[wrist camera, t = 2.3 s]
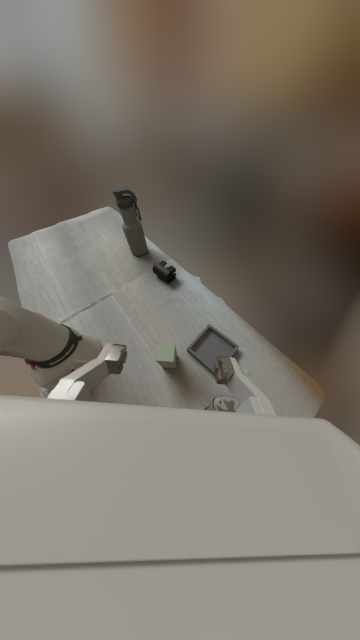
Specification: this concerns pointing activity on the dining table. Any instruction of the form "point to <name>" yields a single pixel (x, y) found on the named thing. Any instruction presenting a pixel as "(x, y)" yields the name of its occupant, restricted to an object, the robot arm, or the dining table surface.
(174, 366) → the sage block
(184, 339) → the dining table surface
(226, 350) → the grey tray
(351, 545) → the robot arm
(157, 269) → the end cap
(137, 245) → the water bottle
